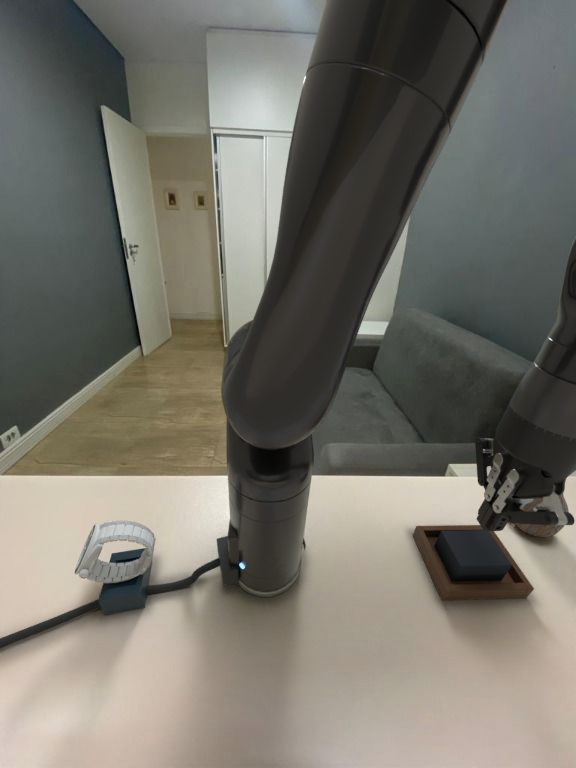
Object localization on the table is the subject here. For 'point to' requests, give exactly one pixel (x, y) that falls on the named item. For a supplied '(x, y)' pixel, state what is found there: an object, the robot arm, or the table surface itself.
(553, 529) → the vase
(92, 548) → the watch
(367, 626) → the table surface
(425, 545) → the brown tray
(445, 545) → the dark blue rectangular block
